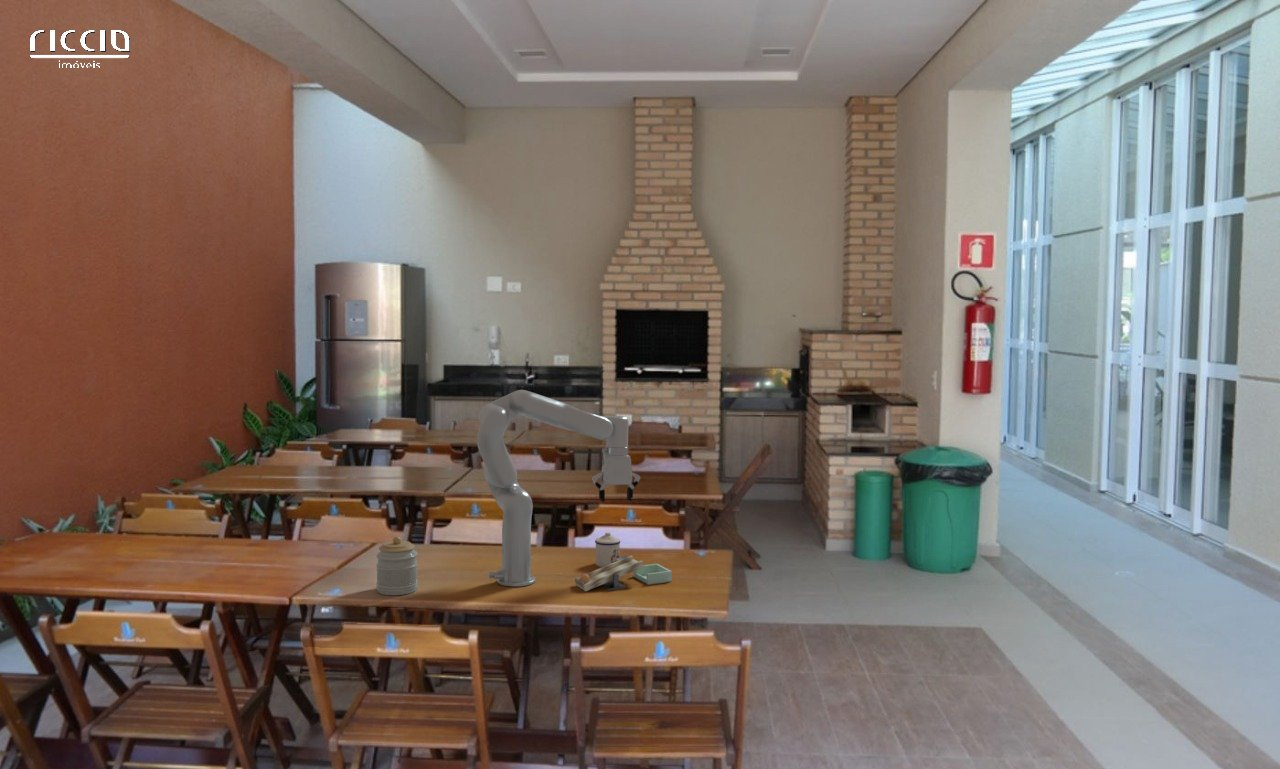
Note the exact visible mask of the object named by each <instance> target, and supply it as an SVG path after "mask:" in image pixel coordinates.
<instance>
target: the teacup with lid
mask: <svg viewBox="0 0 1280 769" xmlns="http://www.w3.org/2000/svg"><path fill="white" fill-rule="evenodd" d="M594 543H595V565H596V566H597V567H599V568H601V567H605V566H607V565H610V564H612V563H614V562H617V561H616V559H618V558H620V557H621V555H620V552H621V549H620V548H621V547H620V545H621V539H620V538H618V537H615V536H614V535H612V534H611V532H605V533H604V534H603V535H601V536H600V537H597V538H596V539H595V541H594Z"/></svg>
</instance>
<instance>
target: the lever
mask: <svg viewBox="0 0 1280 769" xmlns="http://www.w3.org/2000/svg"><path fill="white" fill-rule="evenodd" d="M616 561H617V562H614V563H612V564H610V565H607V566H605V567H602V568H601V567H599V568H597V569H595V570H593V571H591V572H587V574H588V575H589V577H590V580H589V582H588V583H584V582H582V581H581V580H580V576H579V577H575V578H574V583H575V586H577V587H578V588H579V589H581V590H583V591H584V592H588V591H590V590H593V589H595V588H598V587H599V586H601V585H602V584H605V583H607V582H610V581H612V580H613V575H615V574H618V575H619V578H622V577H623V576H626V575H628V574H630V573H633V571H636V570H638V569H640V568H643V567H644V565H645V564H644V561H643V560H639V561H638V560H636V559H635V558H634V556H633V554H632V555H624V556H620V558H618V559H616Z"/></svg>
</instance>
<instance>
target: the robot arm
mask: <svg viewBox="0 0 1280 769" xmlns="http://www.w3.org/2000/svg"><path fill="white" fill-rule="evenodd" d="M477 416H478V422H479V423H480V426H479V429H478V432H477V435H476V436H477V437H476V445H477V449H478V451H479V454H480V456H481V459H482V461H483V464H484V465H483V470H482V471H483V475H484V478H485V481H486V484H487V485H488V488H489V489H490V492H491V494H492V497H493V498H494V500H495V502H496V504H497V506H498V507H499V508H500V510H502V511H503V516H502V523H501V524H502V525H501V537H502V538H501V564H502V565H501V567H499V568H498V569H499V570H497V571H491V572H490V571H489V572H488V573H487V579H494V580H497V584H499V585H501V586H504V587H517V588H518V587H526V586H530V585H532V584H534V583H535V582H536V576H534V575H533V574H532V573H531V568H532V566H531V565H532V564H531V563H532V562H531V561H532V559H531V555H532V554H531V553H532V552H531V551H532V548H531V547H532V545H531V541H532V536H531V535H532V533H531V532H532V531H531V530H532V515H533V508H534V506H533V504H534V503H533V499H532V497H531V495H530V494H529V493H528V492H527V491H526V490H525V489H524V488H522V487H521V486H520V484H519V482H518V471H517V467H516V465H515V463H514V462H513V460H512V458H511V456H510V454H509V452H508V449H507V446H506V444H505V442H504V441H505V440H504V436H505V432H506V430H507V429H508V428H509V425H510V422H511V421H512V420H514V419H516V418H518V417H519V416H522V417H524V418H527V419H530V420H534V421H537V422H540V423H543V424H547V425H549V426H552V427H556V428H558V429H559V428H560V429H561V430H562V429H563V430H567V431H570V432H571V431H572V432H575V433H578V434H581V435H584V436H587V437H591V438H594V439H597V440H601V441H603V440H606V443H605V447H604V448H602V449H601V452H602V453H604V455H603V459H602V463H601V464H602V465H601V472H598V473H597V474H594V475H593V476H592V477H591V480H592V481H593V484H594V486H596V488H597V489H598V498H599V500H600V502H602V503H604V502H605V501H606V500H605V499H606V498H605V497H606V496H605V495H606V490H605V488H606V487H607V486H623V485H627V489H626V499H627V500H628V501H630V502H631V501H632V499H633V498H634V497H633V496H634V494H633V492H634V489H635V488H636V487H637V485H638V484H639V482H640V480H641V479H642V478H641V476H640V475H639V474H637V473H635V472H633V470H632V468H633V467H632V459H631V455H629V419H628V417H627V416H625V415H609V416H605V415H597V414H594V413H591V412H588V411H585V410H582V409H580V408H577V407H575V406H572V405H571V404H568V403H565V402H563V401H559V400H557V399H555V398H550V397H547V396H544V395H541V394H538V393H536V392H532V391H529V390H525V389H519V390H515V391H512V392H511V393H508V394H505V395H504V396H502V397H500V398H497V399H495V400H493V401H491V402H488V403H487V404H485V405H483V407H482V408H480V411H479V412H478V415H477ZM633 477H634V480H633ZM600 478H601V479H600ZM598 479H600V480H601V481H600V483H599V482H598Z"/></svg>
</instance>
